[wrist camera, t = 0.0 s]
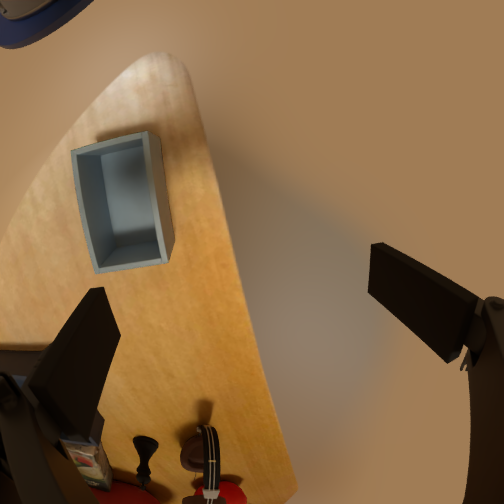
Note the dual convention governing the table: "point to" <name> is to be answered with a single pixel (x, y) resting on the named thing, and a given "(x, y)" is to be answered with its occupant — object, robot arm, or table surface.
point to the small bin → (124, 202)
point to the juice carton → (92, 465)
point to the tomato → (228, 493)
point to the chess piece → (144, 458)
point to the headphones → (204, 464)
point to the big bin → (19, 369)
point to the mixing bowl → (124, 495)
